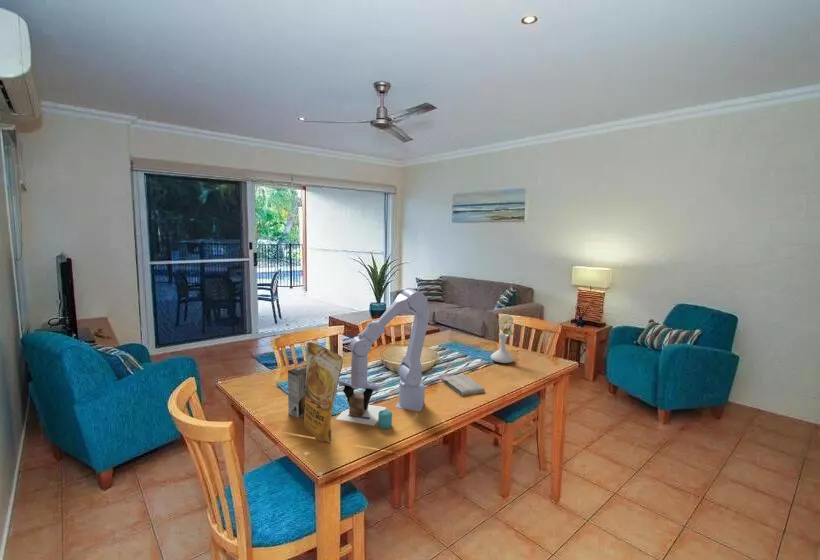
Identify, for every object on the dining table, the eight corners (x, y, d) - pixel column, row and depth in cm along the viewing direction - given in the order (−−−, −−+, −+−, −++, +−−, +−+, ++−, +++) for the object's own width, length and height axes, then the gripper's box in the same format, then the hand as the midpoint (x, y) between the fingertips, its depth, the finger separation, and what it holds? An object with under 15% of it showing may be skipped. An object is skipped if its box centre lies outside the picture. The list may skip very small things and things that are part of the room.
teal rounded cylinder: (393, 425, 139) (393, 411, 138) (389, 431, 135) (389, 417, 134) (380, 423, 140) (381, 409, 139) (376, 429, 136) (376, 415, 135)
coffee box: (308, 405, 151) (308, 363, 149) (319, 410, 147) (320, 367, 145) (287, 413, 144) (287, 369, 142) (298, 419, 140) (298, 374, 138)
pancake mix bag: (315, 417, 142) (315, 339, 138) (343, 440, 128) (345, 354, 124) (296, 422, 138) (296, 342, 134) (324, 447, 124) (325, 358, 120)
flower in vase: (486, 358, 211) (489, 310, 207) (505, 356, 214) (509, 310, 211) (499, 367, 199) (502, 316, 195) (519, 365, 202) (523, 316, 198)
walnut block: (367, 409, 148) (367, 393, 147) (362, 415, 143) (362, 399, 142) (354, 407, 149) (354, 392, 148) (349, 413, 144) (349, 397, 144)
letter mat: (386, 408, 151) (386, 407, 151) (374, 426, 137) (374, 425, 137) (350, 403, 154) (351, 401, 154) (335, 420, 140) (335, 419, 140)
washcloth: (462, 377, 184) (462, 371, 184) (485, 393, 169) (486, 386, 168) (439, 381, 179) (439, 374, 179) (461, 398, 163) (461, 390, 163)
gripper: (335, 372, 142) (334, 409, 144) (375, 377, 138) (374, 415, 140) (343, 365, 149) (343, 400, 151) (381, 370, 145) (380, 406, 147)
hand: (358, 407), depth 146 cm, fingers closed on walnut block, 5 cm apart
